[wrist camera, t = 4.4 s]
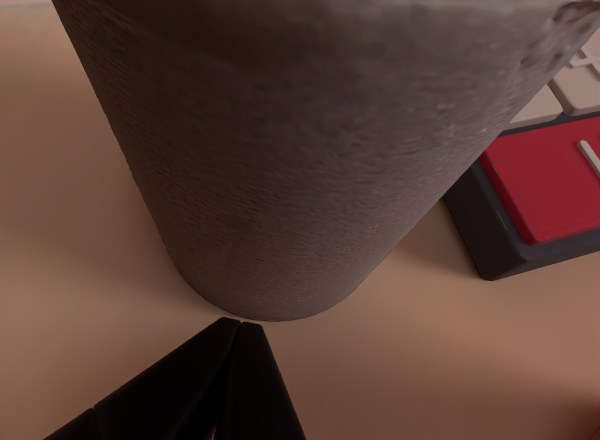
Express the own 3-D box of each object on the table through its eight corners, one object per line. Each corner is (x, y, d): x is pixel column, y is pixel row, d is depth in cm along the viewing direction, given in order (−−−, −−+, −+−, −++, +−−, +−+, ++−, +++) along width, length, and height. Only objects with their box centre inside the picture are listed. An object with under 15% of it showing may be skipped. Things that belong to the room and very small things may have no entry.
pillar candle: (117, 205, 17) (-403, -612, 3) (281, 96, 20) (348, -493, 7) (273, 379, 15) (605, 51, 1) (424, 222, 18) (918, -288, 5)
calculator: (415, 40, 18) (669, 2, 21) (389, 103, 22) (606, 64, 25) (535, 256, 14) (833, 173, 17) (476, 287, 18) (725, 216, 21)
